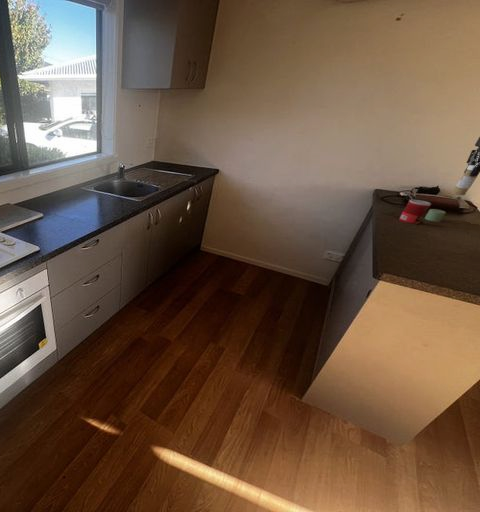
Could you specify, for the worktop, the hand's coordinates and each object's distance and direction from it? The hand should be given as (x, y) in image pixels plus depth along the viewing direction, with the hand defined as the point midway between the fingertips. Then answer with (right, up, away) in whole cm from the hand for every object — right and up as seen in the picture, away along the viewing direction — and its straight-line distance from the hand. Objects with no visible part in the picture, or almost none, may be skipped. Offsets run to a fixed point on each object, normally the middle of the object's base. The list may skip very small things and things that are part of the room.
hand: (469, 174), depth 134 cm
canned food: (-10, -20, +17) cm, 28 cm away
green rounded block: (+6, -19, +20) cm, 28 cm away
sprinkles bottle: (0, -8, +5) cm, 10 cm away
